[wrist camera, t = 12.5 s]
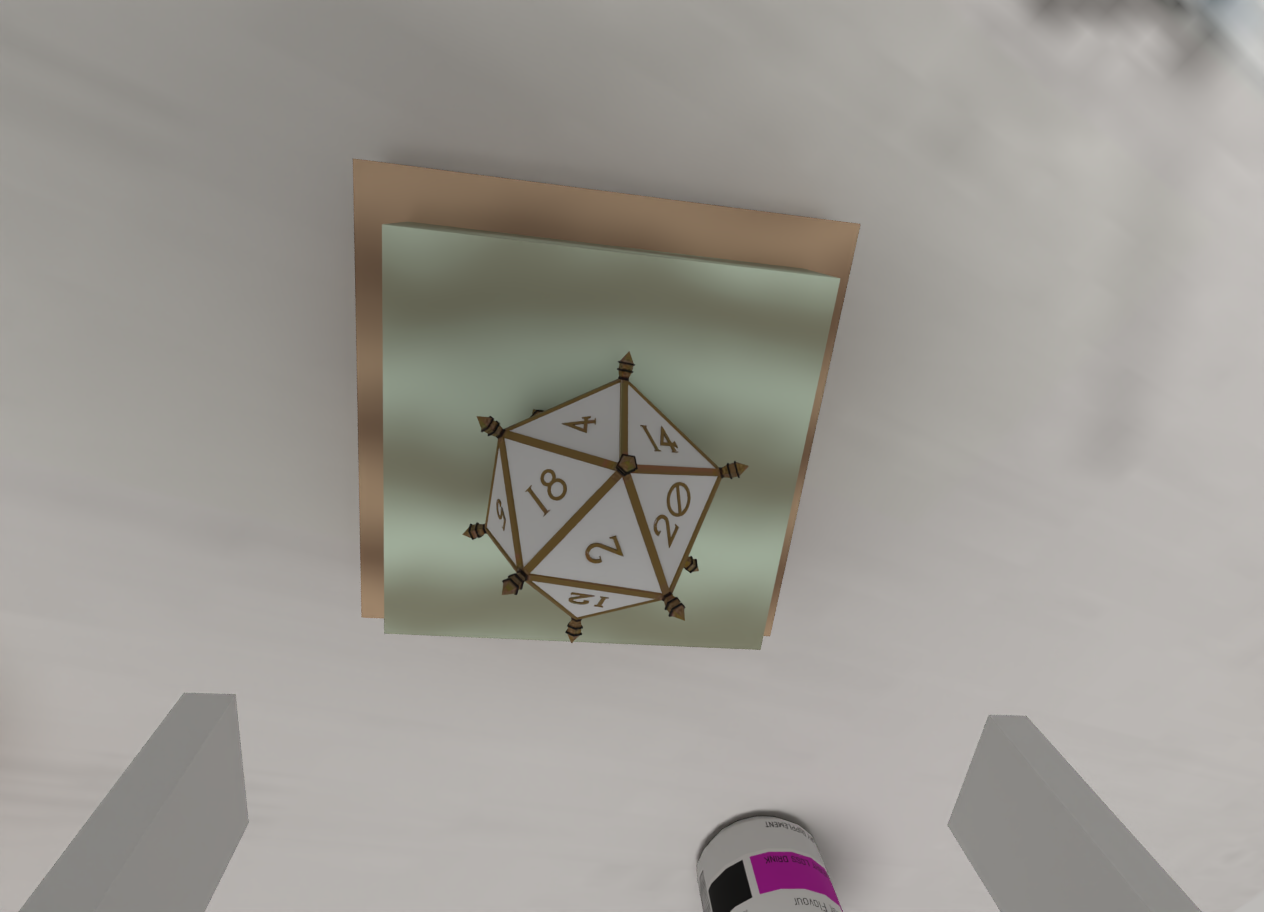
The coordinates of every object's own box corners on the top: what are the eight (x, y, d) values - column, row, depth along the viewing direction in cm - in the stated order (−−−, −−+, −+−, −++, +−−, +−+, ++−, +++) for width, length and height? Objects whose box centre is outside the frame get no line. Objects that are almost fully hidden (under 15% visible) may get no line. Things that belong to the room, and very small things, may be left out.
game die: (580, 385, 29) (628, 252, 19) (726, 525, 28) (846, 459, 19) (417, 532, 26) (379, 459, 16) (577, 693, 25) (633, 712, 16)
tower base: (380, 164, 29) (316, 150, 22) (825, 221, 32) (906, 227, 24) (382, 573, 36) (335, 671, 28) (749, 594, 38) (794, 688, 31)
